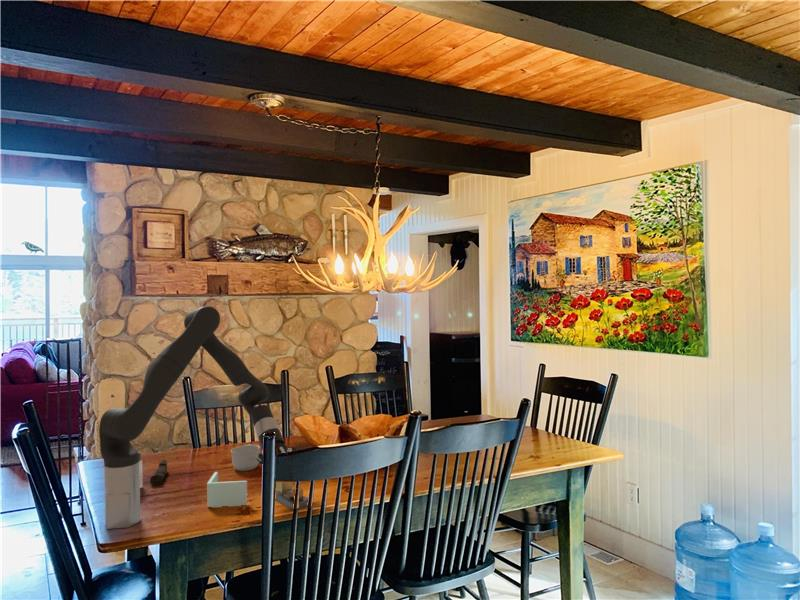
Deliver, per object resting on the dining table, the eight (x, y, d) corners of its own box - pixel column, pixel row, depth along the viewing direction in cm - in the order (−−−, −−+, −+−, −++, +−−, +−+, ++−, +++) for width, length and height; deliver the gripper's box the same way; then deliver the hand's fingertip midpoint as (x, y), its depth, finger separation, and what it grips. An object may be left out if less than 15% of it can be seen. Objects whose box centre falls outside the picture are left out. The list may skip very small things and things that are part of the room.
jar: (144, 483, 204) (144, 449, 204) (140, 491, 196) (139, 455, 196) (117, 486, 201) (116, 451, 201) (111, 493, 193) (110, 458, 193)
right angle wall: (246, 505, 180) (246, 481, 180) (207, 507, 179) (206, 483, 179) (252, 492, 192) (251, 470, 192) (215, 494, 191) (214, 472, 191)
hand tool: (162, 485, 202) (162, 472, 202) (150, 486, 201) (149, 473, 201) (172, 470, 220) (172, 458, 220) (161, 470, 220) (161, 458, 219)
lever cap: (274, 488, 187) (274, 461, 187) (284, 486, 189) (284, 459, 189) (282, 492, 183) (281, 464, 183) (292, 490, 185) (291, 462, 185)
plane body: (271, 498, 187) (271, 482, 186) (288, 493, 190) (288, 478, 190) (292, 510, 176) (292, 493, 176) (309, 505, 179) (309, 489, 179)
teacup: (253, 473, 213) (253, 452, 213) (226, 472, 215) (225, 451, 215) (268, 462, 227) (267, 442, 227) (242, 462, 229) (241, 441, 229)
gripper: (252, 430, 188) (269, 477, 178) (291, 424, 196) (309, 468, 187) (245, 444, 192) (262, 489, 182) (284, 437, 201) (301, 480, 191)
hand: (286, 478), depth 185 cm, fingers closed on lever cap, 3 cm apart
